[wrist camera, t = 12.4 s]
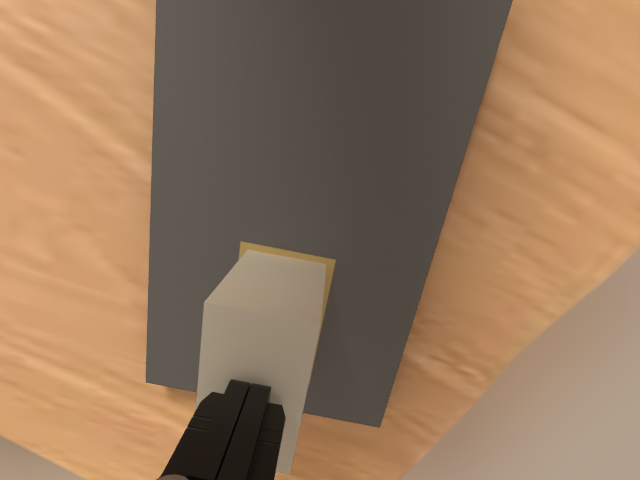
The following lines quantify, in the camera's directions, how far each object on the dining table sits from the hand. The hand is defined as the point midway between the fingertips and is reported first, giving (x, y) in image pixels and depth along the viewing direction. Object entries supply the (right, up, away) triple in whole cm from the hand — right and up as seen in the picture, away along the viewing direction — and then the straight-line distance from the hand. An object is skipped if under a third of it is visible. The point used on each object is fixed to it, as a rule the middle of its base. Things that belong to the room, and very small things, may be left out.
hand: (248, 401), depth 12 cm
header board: (+1, +7, +5) cm, 9 cm away
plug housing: (0, +2, +5) cm, 6 cm away
